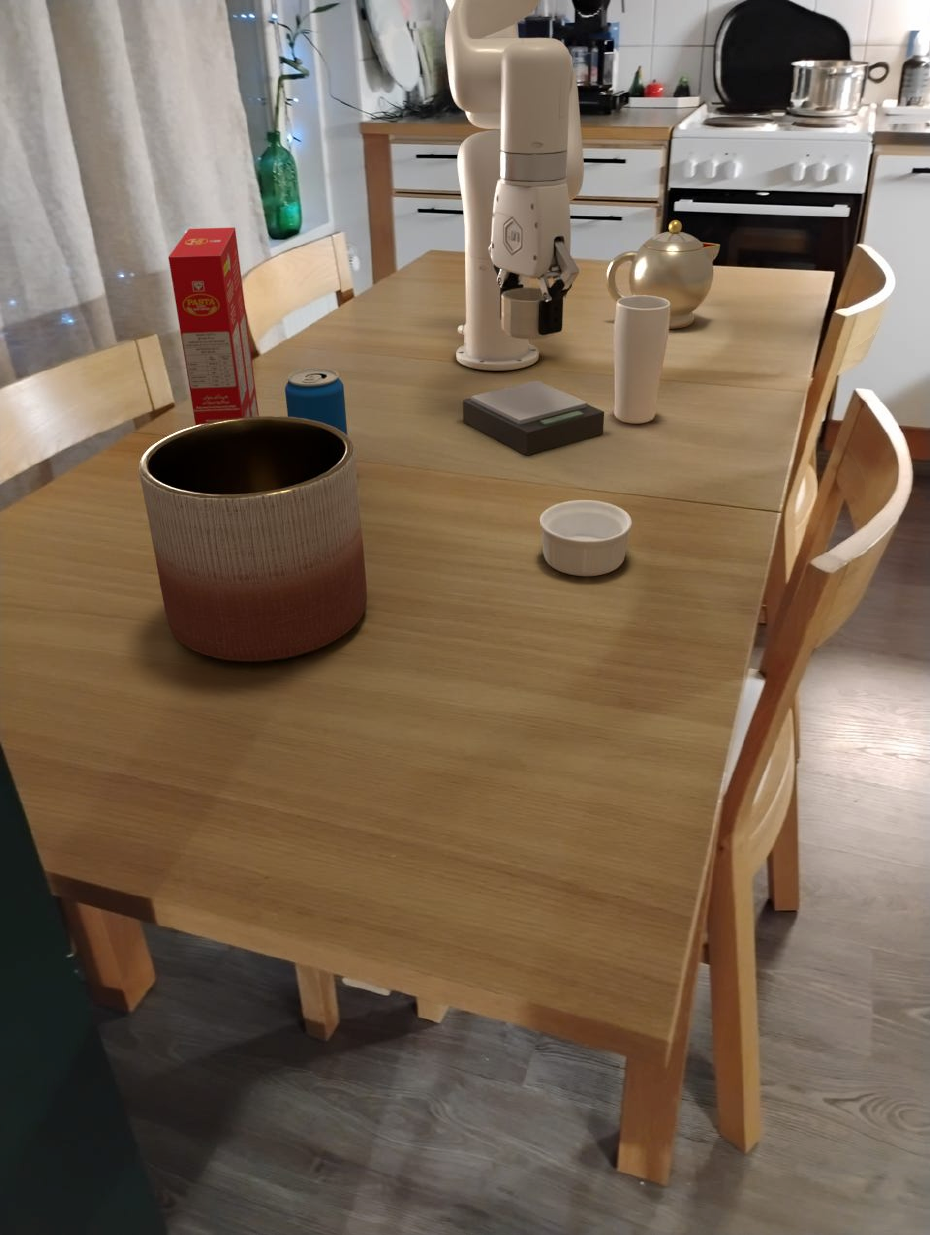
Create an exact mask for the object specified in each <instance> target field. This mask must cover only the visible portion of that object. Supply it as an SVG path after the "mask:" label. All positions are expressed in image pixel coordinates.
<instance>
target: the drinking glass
mask: <svg viewBox="0 0 930 1235" xmlns="http://www.w3.org/2000/svg"><path fill="white" fill-rule="evenodd" d="M615 302H616V301H615ZM670 305H671V304H670V302H669V301H668V300H666V299H664V298H660V297H655V296H644V295H637V296H632V295H628V296H627V295H626V297H623V298H620V299H619V300H618V301H617V302H616V304H615V313H614V322H613V323H614V324H613V367H614V371H613V373H614V376H613V377H614V405H613V406H614V407H613V414H614V417H615V418H616V419H617V420H618V421H620V422H623V423H625V424H633V425H636V424H639V425H640V424H645V423H649V422H652V421H653V419H654V418H655V416H656V411H657V402H658V395H659V390H660V389H659V388H660V383H661V378H662V372H663V366H664V361H665V357H666V351H667V345H668V340H669V333H670V332H669V331H670V329H669V323H670Z"/></svg>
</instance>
